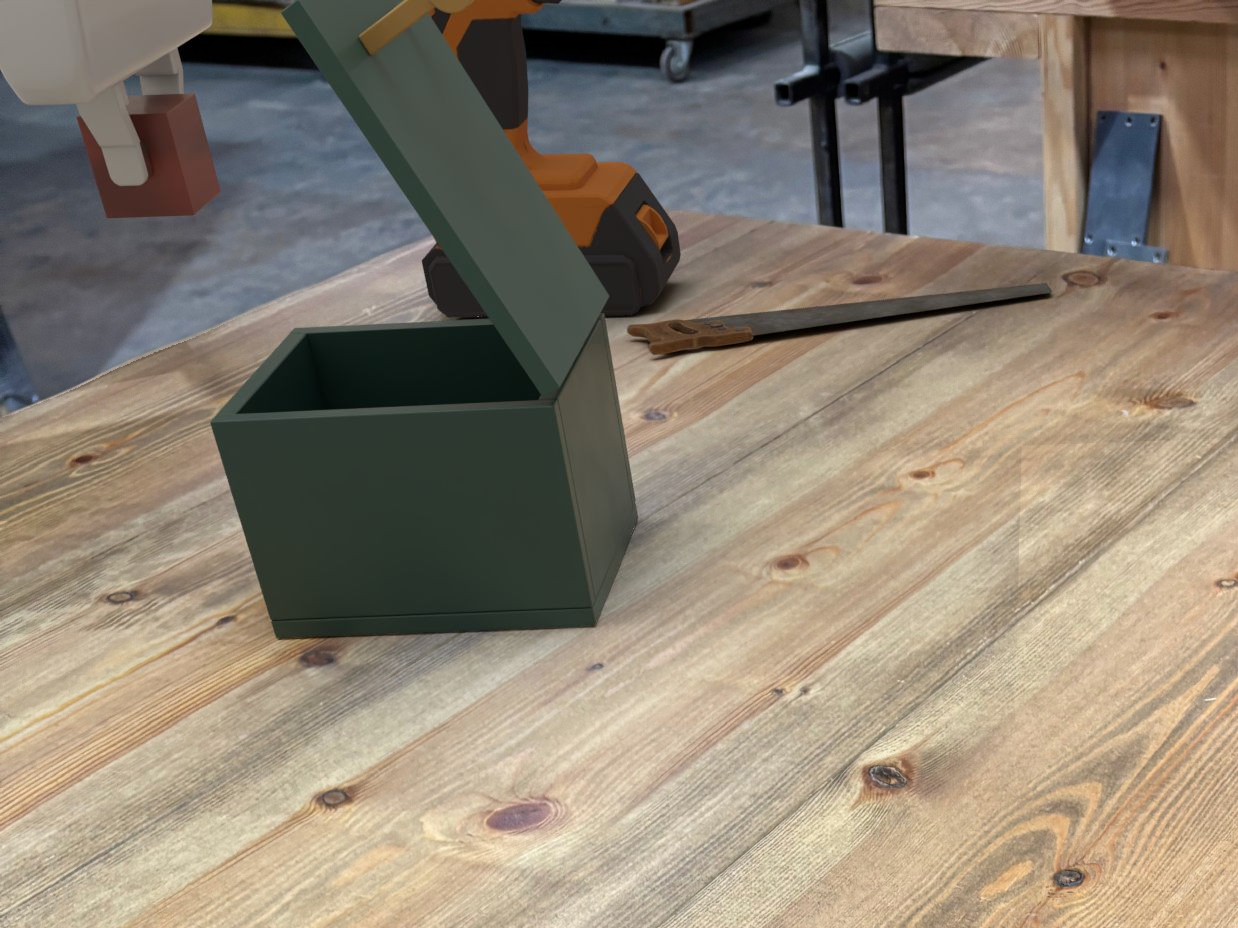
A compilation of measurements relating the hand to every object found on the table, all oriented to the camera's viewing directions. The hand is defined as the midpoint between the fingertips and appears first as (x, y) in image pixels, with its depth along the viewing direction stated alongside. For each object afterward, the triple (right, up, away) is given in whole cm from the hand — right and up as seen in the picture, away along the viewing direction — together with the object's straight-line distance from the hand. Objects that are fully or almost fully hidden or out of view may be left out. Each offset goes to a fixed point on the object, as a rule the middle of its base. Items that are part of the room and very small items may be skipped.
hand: (154, 168), depth 101 cm
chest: (+20, -27, -15) cm, 37 cm away
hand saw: (+35, -4, +8) cm, 36 cm away
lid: (+23, -15, -26) cm, 38 cm away
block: (0, -1, +1) cm, 2 cm away
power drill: (+20, 0, +14) cm, 25 cm away
